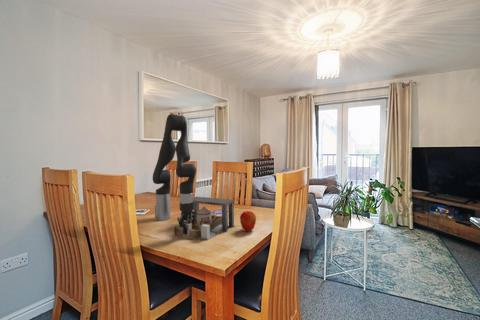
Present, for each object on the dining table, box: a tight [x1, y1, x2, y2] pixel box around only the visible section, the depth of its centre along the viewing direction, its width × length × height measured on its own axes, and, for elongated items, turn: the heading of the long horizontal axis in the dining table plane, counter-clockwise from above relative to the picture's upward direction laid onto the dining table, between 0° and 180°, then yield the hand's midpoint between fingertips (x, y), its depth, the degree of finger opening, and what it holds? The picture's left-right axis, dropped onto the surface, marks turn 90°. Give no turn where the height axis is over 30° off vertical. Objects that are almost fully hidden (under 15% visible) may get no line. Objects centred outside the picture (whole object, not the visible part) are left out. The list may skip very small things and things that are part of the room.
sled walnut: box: [174, 214, 222, 240], centre depth 138 cm, size 16×30×7 cm, turn 157°
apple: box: [239, 210, 257, 232], centre depth 134 cm, size 9×9×12 cm
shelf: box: [193, 196, 235, 233], centre depth 142 cm, size 27×11×16 cm, turn 67°
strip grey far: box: [211, 225, 222, 234], centre depth 136 cm, size 4×11×1 cm, turn 157°
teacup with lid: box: [196, 206, 217, 229], centre depth 144 cm, size 12×9×12 cm
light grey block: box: [199, 224, 216, 241], centre depth 125 cm, size 4×8×7 cm, turn 157°
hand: (187, 232), depth 126 cm, fingers open, 3 cm apart
